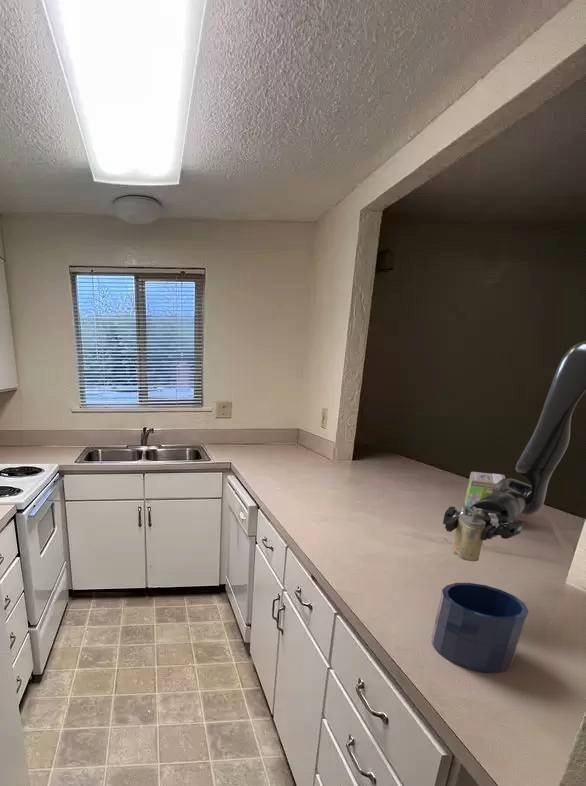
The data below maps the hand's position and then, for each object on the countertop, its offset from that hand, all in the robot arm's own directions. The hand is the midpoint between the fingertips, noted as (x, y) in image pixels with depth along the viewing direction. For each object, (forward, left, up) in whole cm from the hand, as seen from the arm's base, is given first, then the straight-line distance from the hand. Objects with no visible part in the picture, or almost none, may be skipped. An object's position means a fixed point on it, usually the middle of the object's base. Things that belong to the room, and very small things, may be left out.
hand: (466, 531), depth 86 cm
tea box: (-63, -39, -20) cm, 76 cm away
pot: (+6, +10, -20) cm, 23 cm away
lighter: (-2, -1, -6) cm, 7 cm away
